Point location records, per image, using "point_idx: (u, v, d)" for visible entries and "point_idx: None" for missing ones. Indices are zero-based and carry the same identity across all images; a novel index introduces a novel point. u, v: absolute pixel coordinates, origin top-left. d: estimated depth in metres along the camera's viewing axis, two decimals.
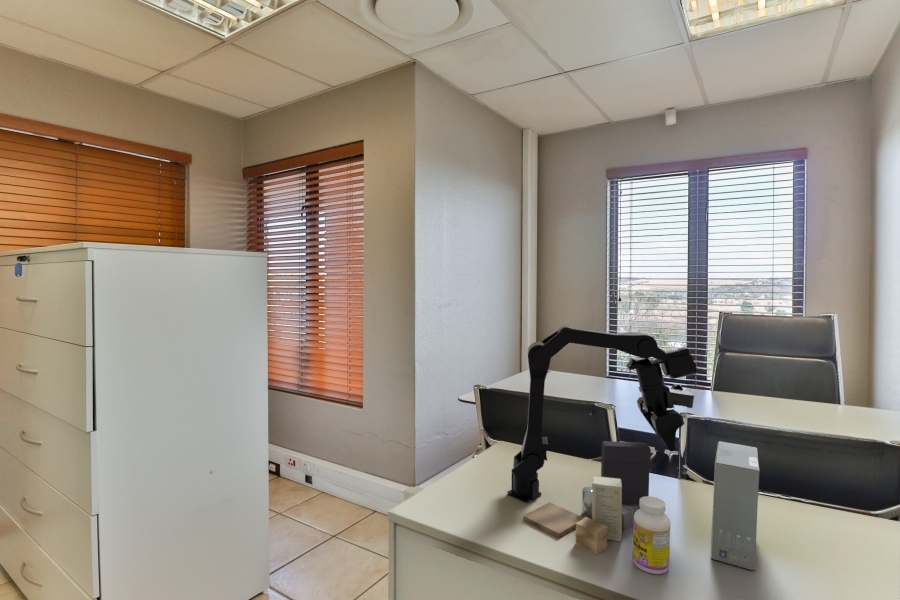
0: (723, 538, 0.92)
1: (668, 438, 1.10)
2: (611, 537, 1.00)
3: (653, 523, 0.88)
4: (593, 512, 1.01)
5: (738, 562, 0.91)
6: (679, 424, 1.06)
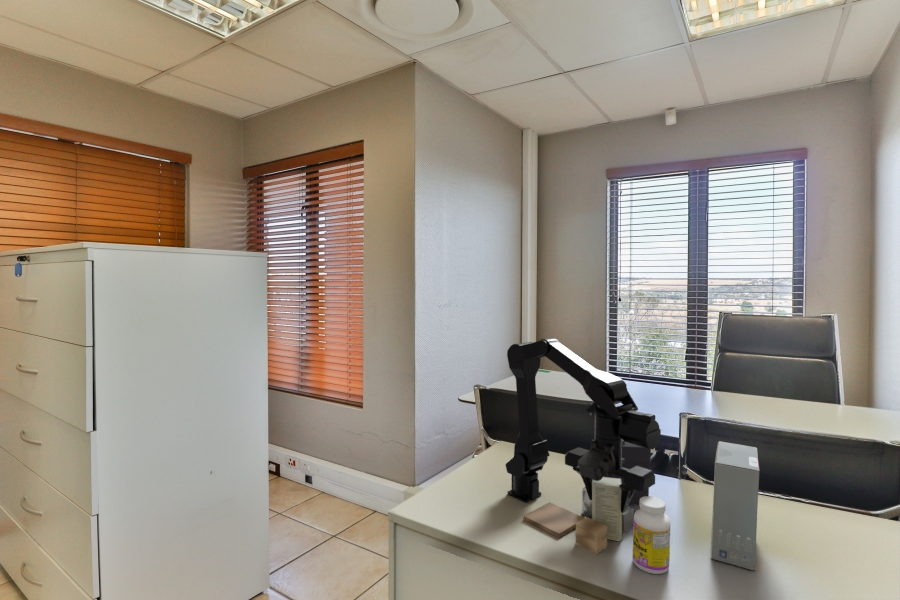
0: (722, 538, 0.92)
1: None
2: (611, 537, 1.00)
3: (653, 523, 0.88)
4: (593, 512, 1.01)
5: (738, 562, 0.91)
6: None
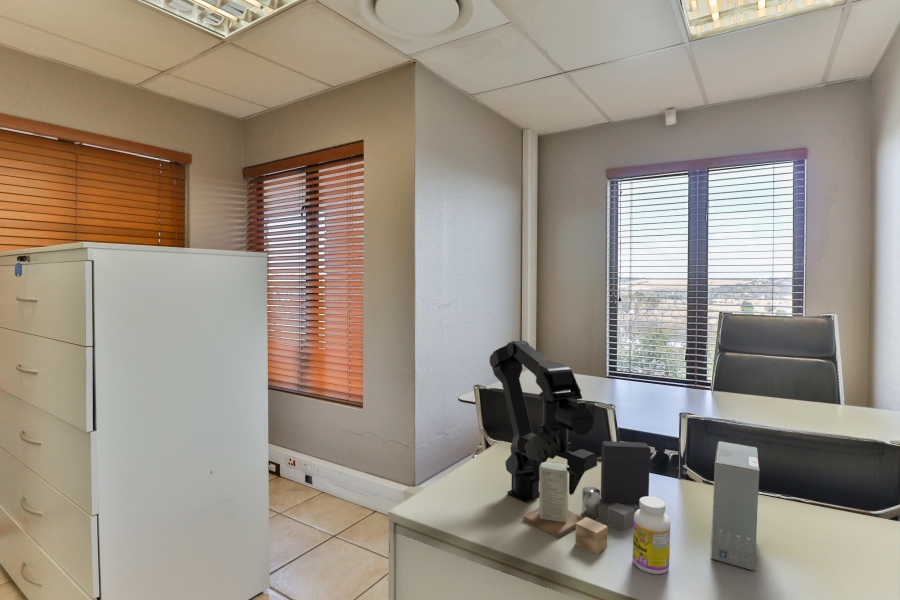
0: (722, 538, 0.92)
1: None
2: (556, 518, 1.06)
3: (653, 523, 0.88)
4: (540, 495, 1.07)
5: (738, 562, 0.91)
6: None
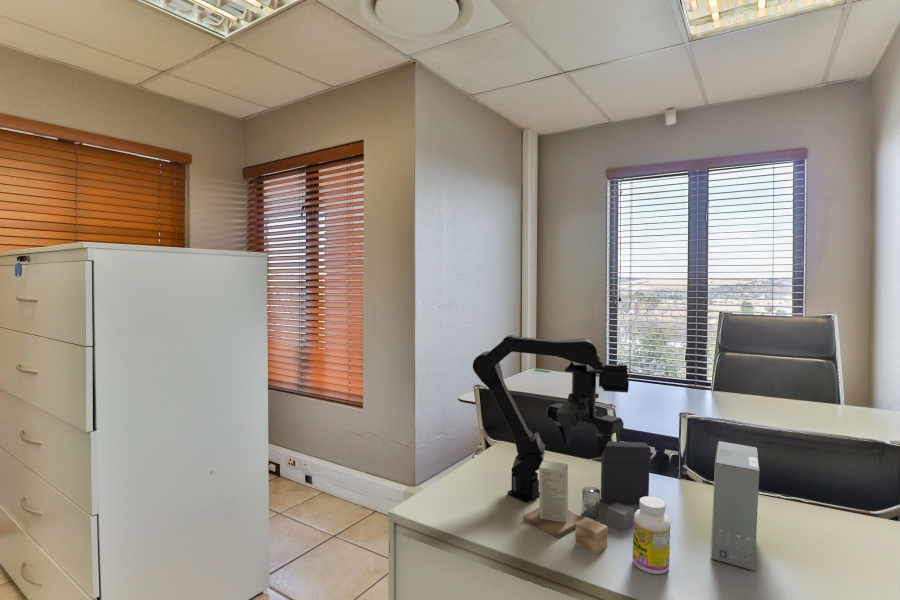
0: (723, 538, 0.92)
1: None
2: (556, 518, 1.06)
3: (653, 523, 0.88)
4: (540, 495, 1.07)
5: (738, 562, 0.91)
6: None
